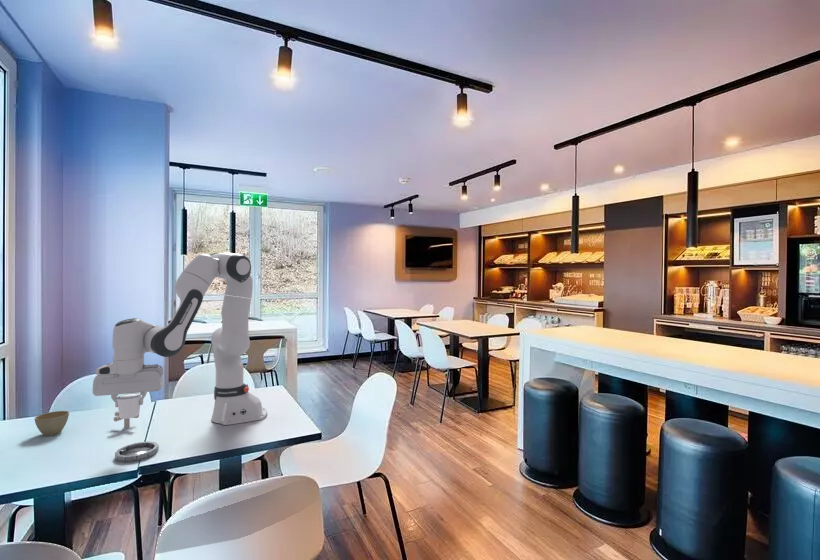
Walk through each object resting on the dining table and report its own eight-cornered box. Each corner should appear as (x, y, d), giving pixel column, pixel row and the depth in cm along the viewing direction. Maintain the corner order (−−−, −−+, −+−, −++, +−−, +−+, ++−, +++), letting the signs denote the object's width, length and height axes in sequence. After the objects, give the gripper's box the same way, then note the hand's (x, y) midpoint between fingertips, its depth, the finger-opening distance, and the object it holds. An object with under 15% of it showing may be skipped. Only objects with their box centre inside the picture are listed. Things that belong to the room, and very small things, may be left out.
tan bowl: (68, 426, 160) (68, 408, 160) (70, 433, 153) (70, 415, 153) (34, 433, 154) (34, 414, 153) (34, 440, 146) (34, 421, 146)
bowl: (162, 444, 144) (162, 440, 144) (152, 459, 133) (152, 454, 133) (123, 449, 140) (123, 444, 140) (109, 464, 129) (109, 458, 129)
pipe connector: (126, 433, 154) (126, 407, 154) (104, 430, 156) (105, 405, 156) (147, 423, 164) (147, 399, 164) (127, 421, 166) (127, 398, 166)
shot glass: (125, 412, 141) (124, 392, 140) (145, 411, 141) (145, 392, 141) (112, 419, 134) (112, 399, 133) (134, 419, 134) (133, 398, 134)
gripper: (165, 361, 143) (166, 399, 144) (98, 366, 137) (99, 405, 137) (160, 365, 137) (160, 405, 137) (89, 370, 131) (90, 411, 131)
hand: (129, 405), depth 137 cm, fingers closed on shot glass, 5 cm apart
